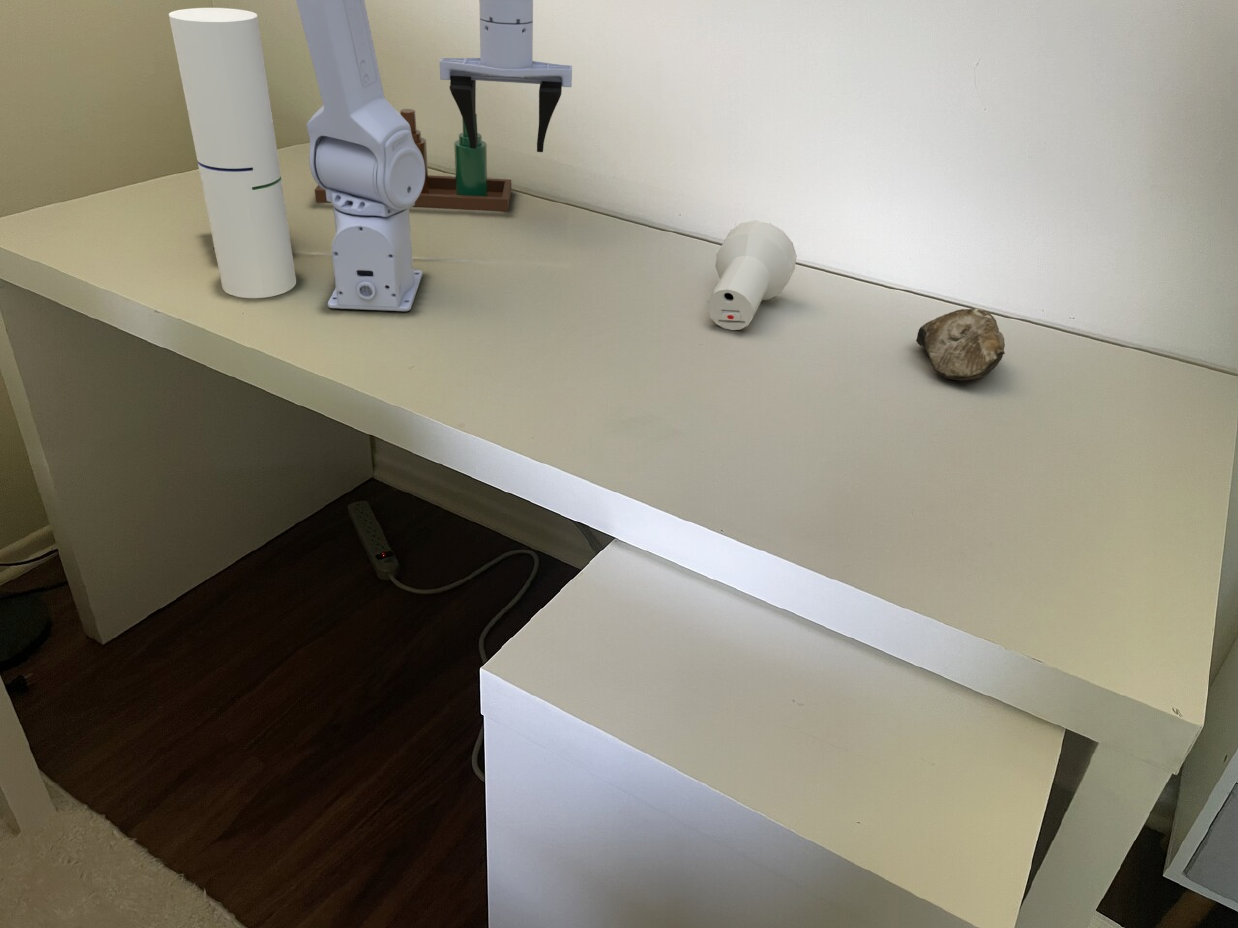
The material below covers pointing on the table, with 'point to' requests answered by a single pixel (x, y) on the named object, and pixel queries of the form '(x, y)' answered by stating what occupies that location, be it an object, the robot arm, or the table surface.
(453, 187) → the tray
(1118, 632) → the table surface
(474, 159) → the green bottle
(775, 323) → the table surface
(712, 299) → the spotlight
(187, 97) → the cylindrical container
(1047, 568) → the table surface
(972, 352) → the fossilized seashell
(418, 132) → the brown bottle
